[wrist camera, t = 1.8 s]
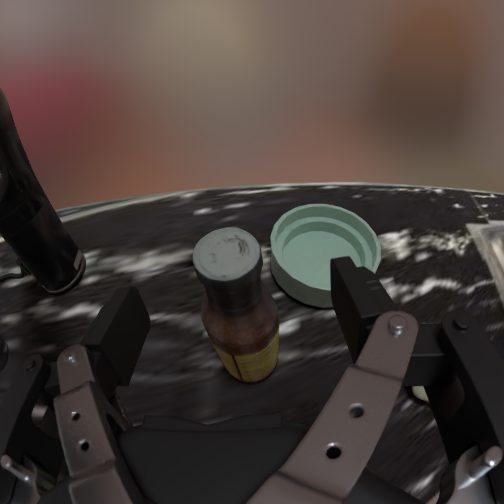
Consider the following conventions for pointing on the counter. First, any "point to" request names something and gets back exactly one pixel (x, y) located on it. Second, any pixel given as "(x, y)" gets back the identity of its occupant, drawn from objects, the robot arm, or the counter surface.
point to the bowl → (318, 249)
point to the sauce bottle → (237, 303)
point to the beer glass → (3, 353)
